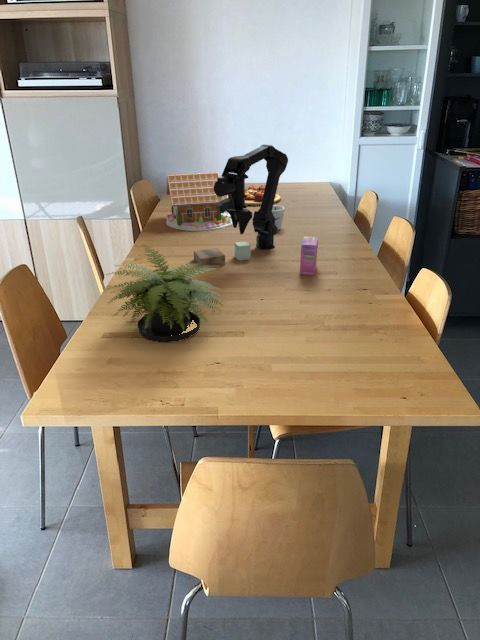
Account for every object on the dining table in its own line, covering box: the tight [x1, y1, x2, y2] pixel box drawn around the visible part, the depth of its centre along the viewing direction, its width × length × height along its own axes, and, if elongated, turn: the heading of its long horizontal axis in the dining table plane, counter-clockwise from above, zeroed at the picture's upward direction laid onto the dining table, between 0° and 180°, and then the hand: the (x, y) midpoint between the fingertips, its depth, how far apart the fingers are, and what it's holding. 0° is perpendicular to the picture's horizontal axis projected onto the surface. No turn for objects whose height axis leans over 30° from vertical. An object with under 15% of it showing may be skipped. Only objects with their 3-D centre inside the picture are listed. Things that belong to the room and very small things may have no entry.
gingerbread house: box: [165, 171, 233, 232], centre depth 258 cm, size 35×35×24 cm
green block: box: [234, 241, 251, 261], centre depth 211 cm, size 5×5×6 cm
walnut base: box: [193, 247, 226, 268], centre depth 208 cm, size 10×10×4 cm
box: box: [299, 235, 319, 276], centre depth 197 cm, size 10×6×12 cm, turn 168°
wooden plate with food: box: [225, 184, 282, 207], centre depth 300 cm, size 32×32×8 cm
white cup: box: [272, 204, 286, 231], centre depth 249 cm, size 10×15×10 cm
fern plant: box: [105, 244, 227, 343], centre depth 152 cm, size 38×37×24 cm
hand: (238, 230), depth 208 cm, fingers open, 9 cm apart
